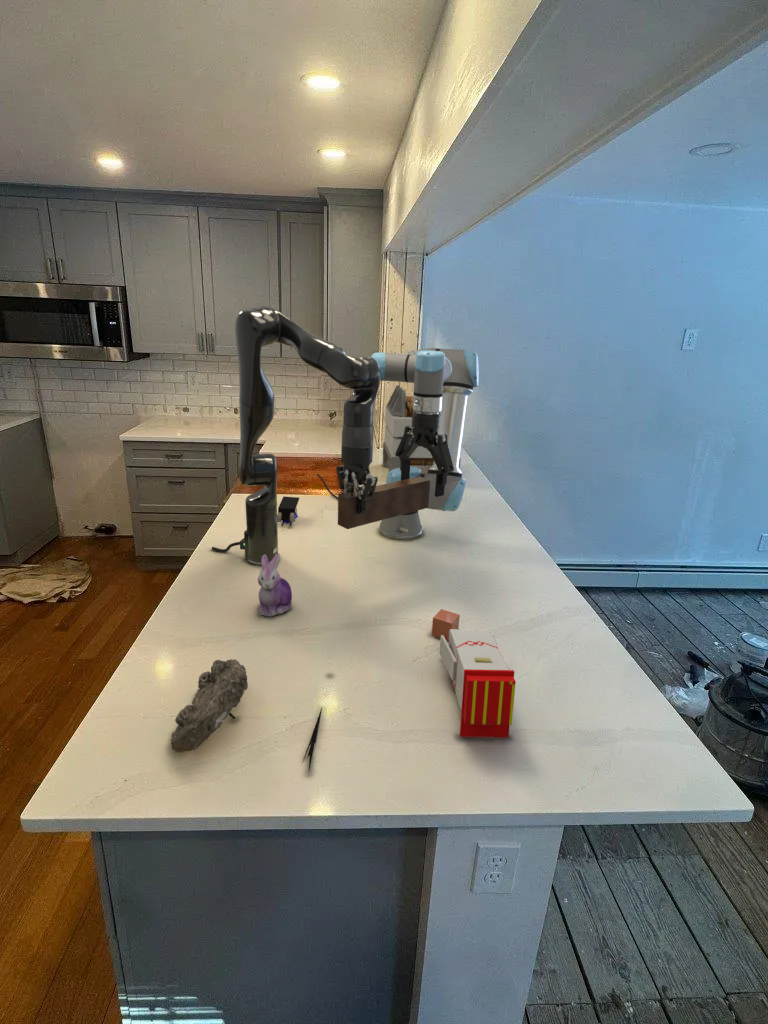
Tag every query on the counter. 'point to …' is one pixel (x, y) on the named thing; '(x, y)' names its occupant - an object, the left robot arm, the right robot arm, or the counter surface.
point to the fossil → (210, 704)
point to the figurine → (273, 588)
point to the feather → (313, 740)
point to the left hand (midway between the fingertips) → (355, 510)
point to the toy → (479, 682)
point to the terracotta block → (444, 623)
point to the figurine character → (287, 510)
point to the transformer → (401, 431)
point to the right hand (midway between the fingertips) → (421, 489)
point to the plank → (384, 502)
